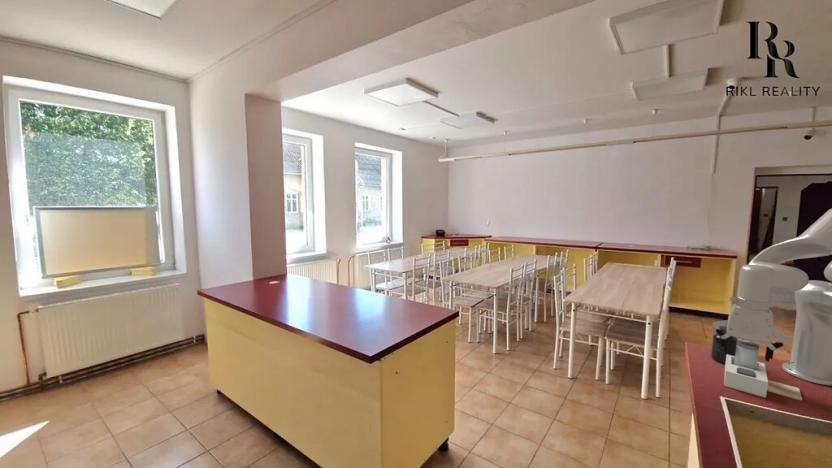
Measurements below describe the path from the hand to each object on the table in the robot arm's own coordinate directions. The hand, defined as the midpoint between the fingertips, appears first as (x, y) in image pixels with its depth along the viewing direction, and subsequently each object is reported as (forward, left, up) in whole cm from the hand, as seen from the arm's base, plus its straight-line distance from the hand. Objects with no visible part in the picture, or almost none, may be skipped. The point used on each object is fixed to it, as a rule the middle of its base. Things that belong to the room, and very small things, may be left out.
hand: (745, 354), depth 106 cm
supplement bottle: (-11, -5, -8) cm, 14 cm away
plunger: (+7, 0, -6) cm, 9 cm away
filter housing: (+2, 0, -8) cm, 8 cm away
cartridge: (0, 0, -8) cm, 8 cm away
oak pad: (+1, +9, -8) cm, 12 cm away
